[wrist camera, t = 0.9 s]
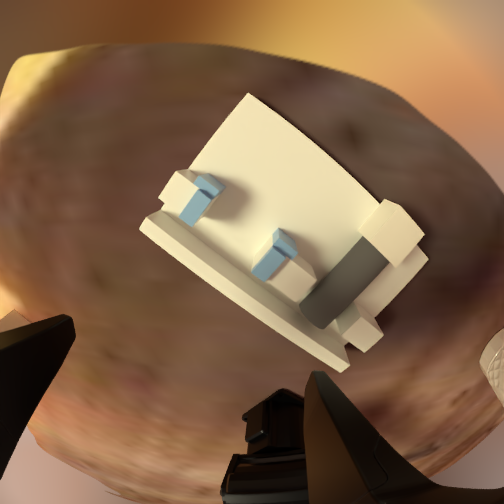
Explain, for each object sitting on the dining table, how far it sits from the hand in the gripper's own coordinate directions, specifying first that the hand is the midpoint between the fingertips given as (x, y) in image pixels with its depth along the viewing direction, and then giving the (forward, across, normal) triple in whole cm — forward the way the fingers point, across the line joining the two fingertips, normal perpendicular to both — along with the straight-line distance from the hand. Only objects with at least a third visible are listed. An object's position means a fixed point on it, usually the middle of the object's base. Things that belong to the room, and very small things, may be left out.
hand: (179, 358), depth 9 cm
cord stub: (+11, -9, -1) cm, 14 cm away
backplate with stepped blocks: (+12, -5, -2) cm, 13 cm away
